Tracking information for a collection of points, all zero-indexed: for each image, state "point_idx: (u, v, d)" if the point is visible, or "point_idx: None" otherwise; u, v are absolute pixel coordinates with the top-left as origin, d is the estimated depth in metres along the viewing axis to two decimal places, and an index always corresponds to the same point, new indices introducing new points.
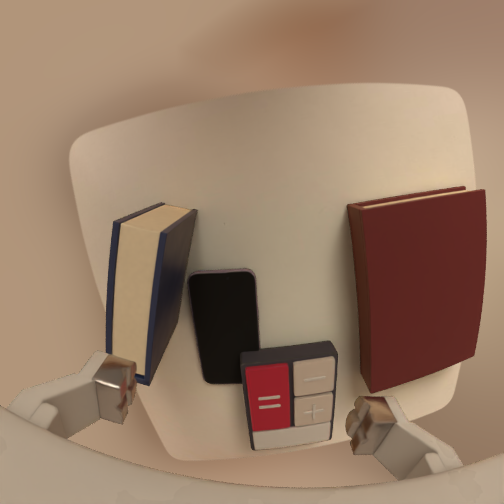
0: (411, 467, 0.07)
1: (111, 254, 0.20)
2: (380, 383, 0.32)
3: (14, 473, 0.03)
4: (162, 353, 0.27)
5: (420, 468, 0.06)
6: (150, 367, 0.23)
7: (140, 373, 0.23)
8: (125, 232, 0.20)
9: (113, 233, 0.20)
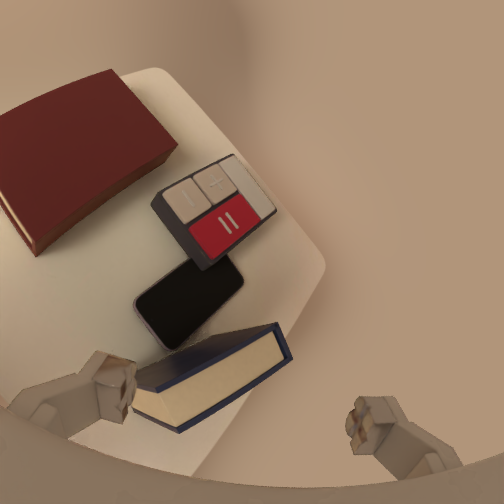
0: (411, 467, 0.07)
1: (203, 417, 0.21)
2: (166, 140, 0.37)
3: (14, 473, 0.03)
4: (245, 329, 0.31)
5: (420, 468, 0.06)
6: (262, 330, 0.27)
7: (273, 334, 0.28)
8: (179, 419, 0.20)
9: (187, 427, 0.20)
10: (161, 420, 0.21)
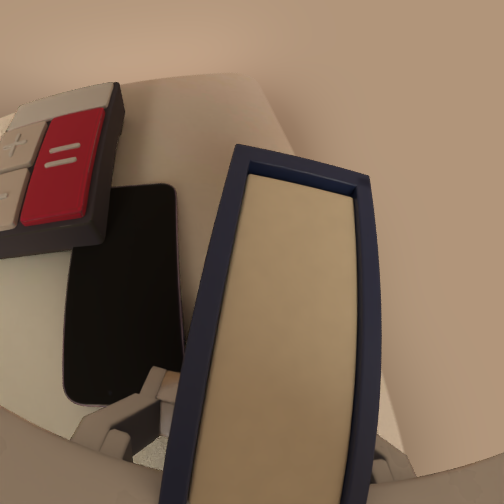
0: None
1: None
2: None
3: (14, 473, 0.03)
4: None
5: None
6: (222, 200, 0.07)
7: (262, 179, 0.08)
8: None
9: None
10: None
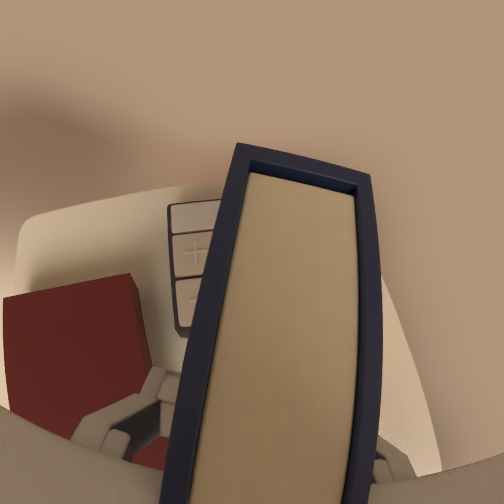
0: None
1: None
2: (118, 286, 0.29)
3: (14, 473, 0.03)
4: None
5: None
6: (223, 198, 0.07)
7: (262, 177, 0.08)
8: None
9: None
10: None
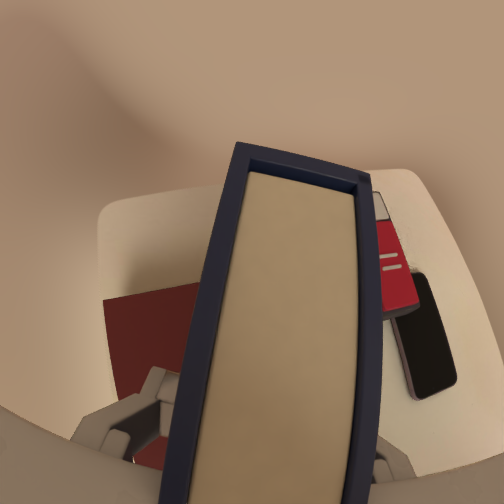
0: None
1: None
2: None
3: (14, 473, 0.03)
4: None
5: None
6: (222, 197, 0.07)
7: (262, 176, 0.08)
8: None
9: None
10: None
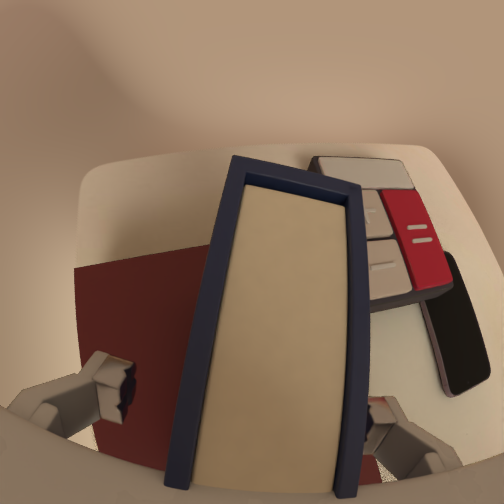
0: (411, 467, 0.07)
1: None
2: None
3: (14, 473, 0.03)
4: None
5: (420, 468, 0.06)
6: (219, 210, 0.08)
7: (257, 189, 0.08)
8: None
9: None
10: None
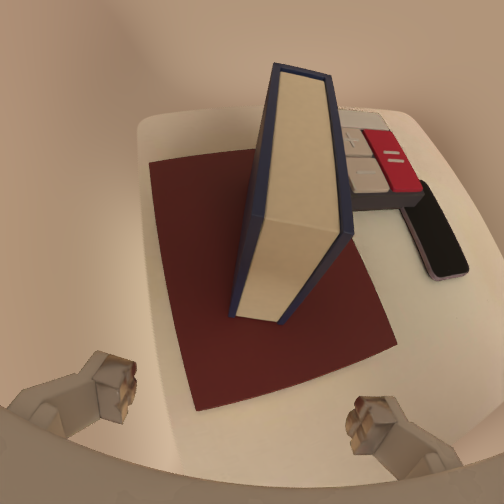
0: (411, 467, 0.07)
1: (346, 187, 0.12)
2: None
3: (14, 473, 0.03)
4: (262, 116, 0.21)
5: (420, 468, 0.06)
6: (272, 75, 0.17)
7: (285, 73, 0.17)
8: (329, 218, 0.12)
9: (350, 215, 0.12)
10: (315, 265, 0.14)
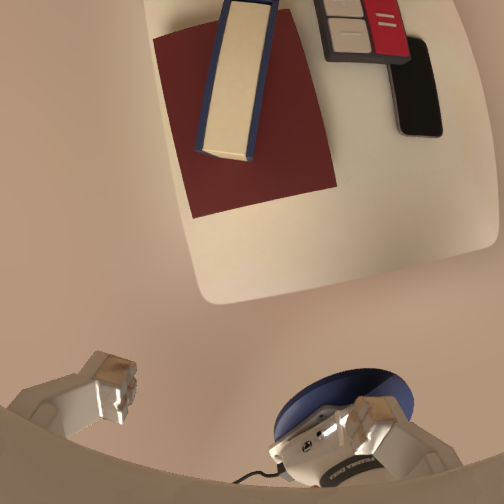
0: (411, 467, 0.07)
1: (256, 124, 0.19)
2: (281, 17, 0.27)
3: (14, 473, 0.03)
4: None
5: (420, 468, 0.06)
6: (221, 11, 0.17)
7: (236, 2, 0.17)
8: (239, 147, 0.20)
9: (252, 145, 0.20)
10: (244, 157, 0.23)
